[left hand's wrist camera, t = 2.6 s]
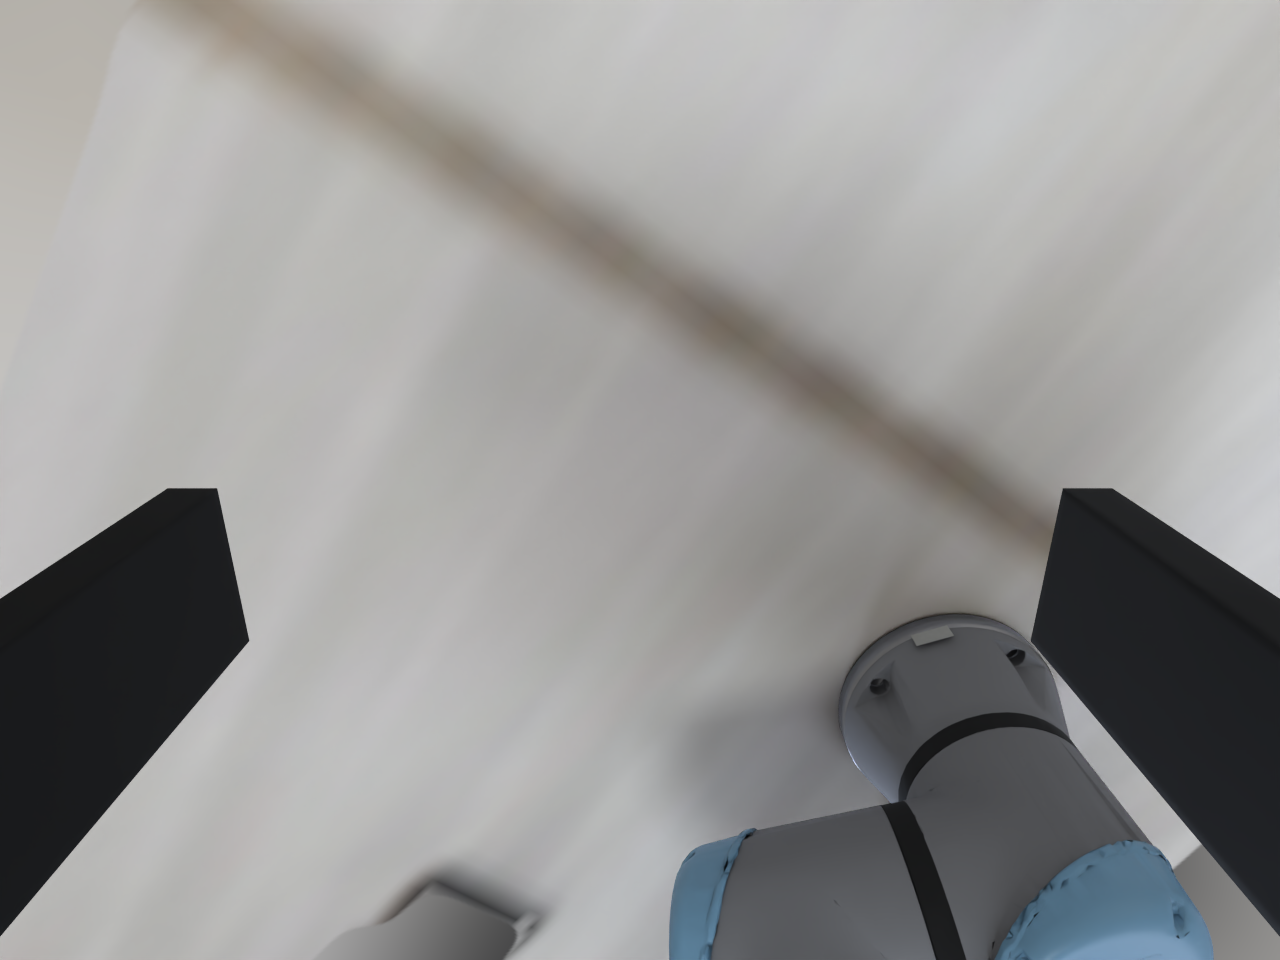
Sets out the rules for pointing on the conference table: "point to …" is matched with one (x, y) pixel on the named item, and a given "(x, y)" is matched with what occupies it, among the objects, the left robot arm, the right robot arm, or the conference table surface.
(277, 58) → the conference table surface
